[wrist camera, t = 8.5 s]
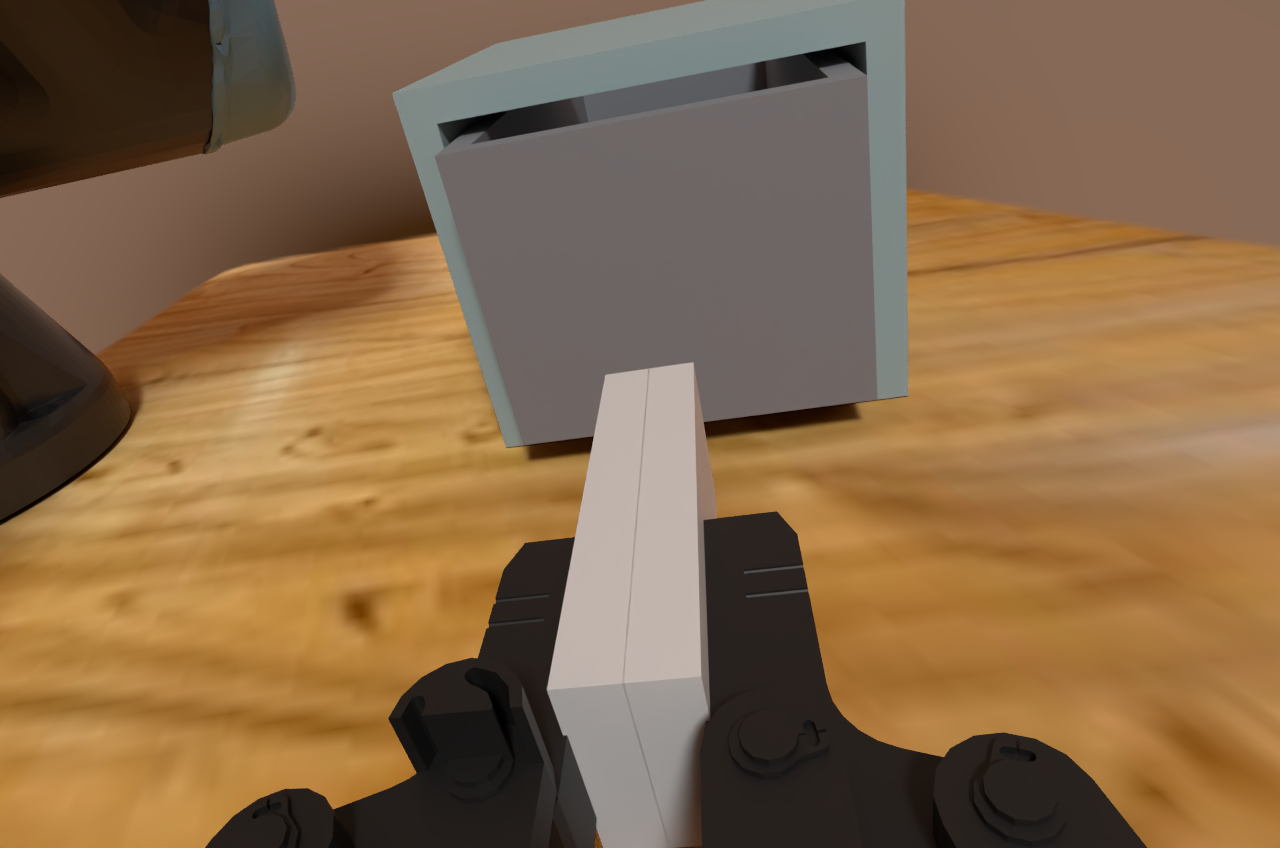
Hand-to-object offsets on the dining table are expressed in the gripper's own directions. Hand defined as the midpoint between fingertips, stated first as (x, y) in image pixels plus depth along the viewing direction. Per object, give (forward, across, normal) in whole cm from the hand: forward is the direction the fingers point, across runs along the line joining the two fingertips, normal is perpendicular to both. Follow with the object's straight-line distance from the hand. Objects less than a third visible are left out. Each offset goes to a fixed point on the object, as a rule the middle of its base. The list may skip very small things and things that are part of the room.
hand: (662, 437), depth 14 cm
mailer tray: (+22, 0, -5) cm, 22 cm away
